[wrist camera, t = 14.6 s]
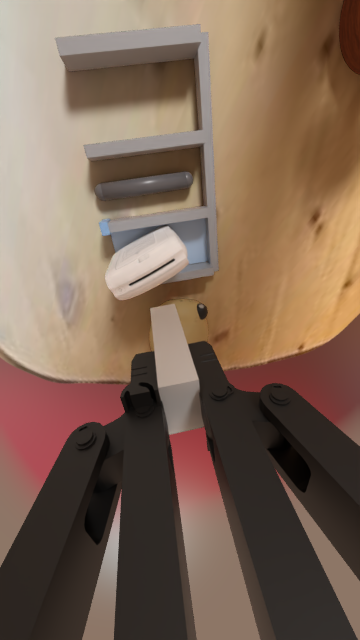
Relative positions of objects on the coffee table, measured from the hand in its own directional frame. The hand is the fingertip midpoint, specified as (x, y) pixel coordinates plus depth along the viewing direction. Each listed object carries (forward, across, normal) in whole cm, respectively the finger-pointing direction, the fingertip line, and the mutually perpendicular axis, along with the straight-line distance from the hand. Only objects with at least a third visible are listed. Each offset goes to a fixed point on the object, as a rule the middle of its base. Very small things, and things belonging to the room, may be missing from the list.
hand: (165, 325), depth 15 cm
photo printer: (+24, -1, -1) cm, 24 cm away
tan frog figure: (+25, +2, -13) cm, 28 cm away
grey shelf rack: (+24, +2, +8) cm, 26 cm away
